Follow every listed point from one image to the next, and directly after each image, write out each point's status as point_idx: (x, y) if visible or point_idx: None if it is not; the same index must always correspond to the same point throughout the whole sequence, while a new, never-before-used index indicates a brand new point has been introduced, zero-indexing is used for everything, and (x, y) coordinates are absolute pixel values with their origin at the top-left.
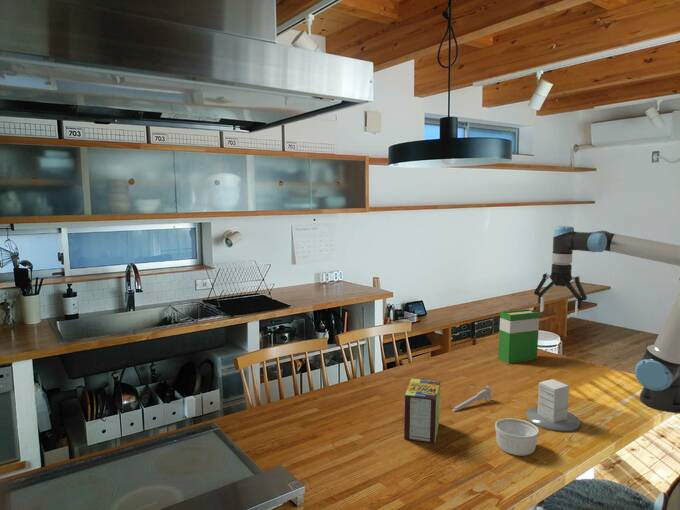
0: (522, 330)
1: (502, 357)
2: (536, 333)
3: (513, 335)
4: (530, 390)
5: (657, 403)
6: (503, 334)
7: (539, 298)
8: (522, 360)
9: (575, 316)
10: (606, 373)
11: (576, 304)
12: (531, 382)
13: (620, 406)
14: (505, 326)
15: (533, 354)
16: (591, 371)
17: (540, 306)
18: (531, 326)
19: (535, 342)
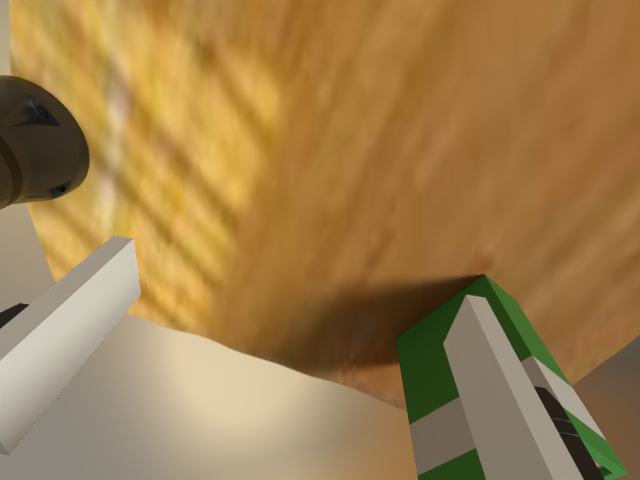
0: None
1: (507, 297)
2: (414, 409)
3: None
4: (411, 32)
5: (7, 80)
6: (548, 362)
7: (578, 461)
8: (438, 310)
9: (123, 240)
10: (211, 308)
11: (4, 336)
12: (408, 128)
13: (113, 41)
14: (563, 390)
15: (408, 344)
16: (247, 307)
17: (507, 343)
18: (441, 427)
19: (410, 379)
